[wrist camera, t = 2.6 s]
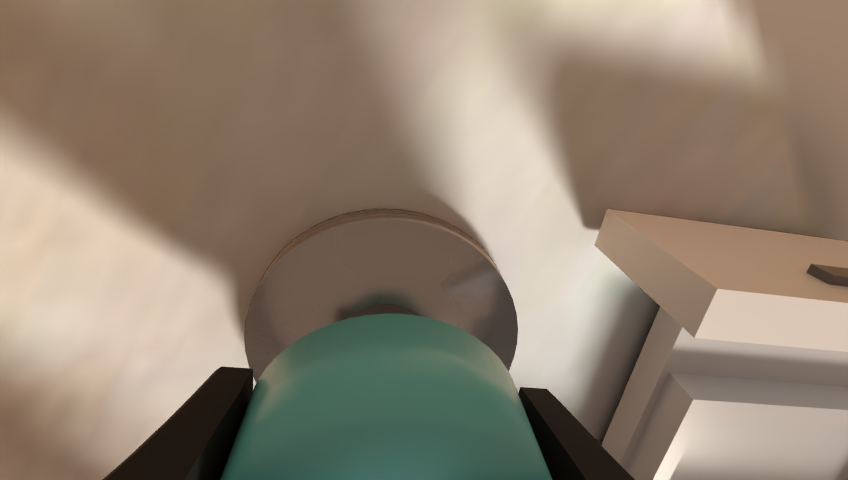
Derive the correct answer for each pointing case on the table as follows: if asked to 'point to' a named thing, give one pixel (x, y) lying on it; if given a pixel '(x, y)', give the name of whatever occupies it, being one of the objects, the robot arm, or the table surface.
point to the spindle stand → (379, 282)
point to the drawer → (733, 352)
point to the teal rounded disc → (386, 408)
